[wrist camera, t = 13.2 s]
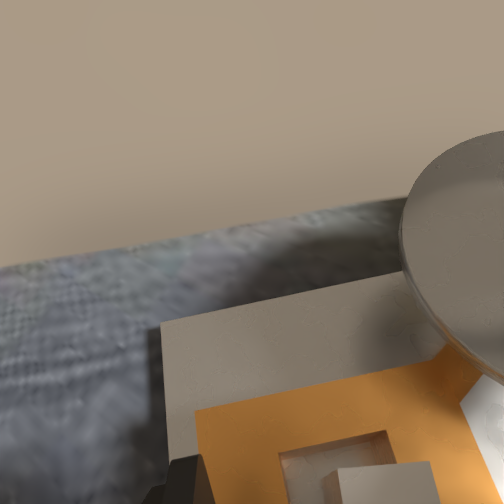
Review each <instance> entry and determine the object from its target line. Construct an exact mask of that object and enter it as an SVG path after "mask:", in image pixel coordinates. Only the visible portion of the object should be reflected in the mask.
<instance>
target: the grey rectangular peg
mask: <svg viewBox="0 0 504 504" xmlns="http://www.w3.org/2000/svg"><path fill="white" fill-rule="evenodd" d="M321 481H322V488H323V495H324V502H325V504H441V502H440V498H439V495H438V491H437V487H436V484H435V480H434V476H433V472H432V469H431V465H430V461H422V462H410V463H398V464H387V465H375V466H364V467H352V468H340V469H336V470H335V471H333V472H331V473H330V474H328V475H327V476H325V477H324V478H322V479H321Z"/></svg>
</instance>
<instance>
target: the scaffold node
mask: <svg viewBox="0 0 504 504" xmlns="http://www.w3.org/2000/svg"><path fill="white" fill-rule="evenodd" d="M398 251H399V258H400V263H401V268H402V271H400V272H395V273H391V274H386V275H381V276H377V277H372V278H367V279H362V280H358V281H353V282H348V283H344V284H339V285H334V286H330V287H325V288H320V289H316V290H311V291H306V292H302V293H297V294H292V295H287V296H283V297H278V298H273V299H269V300H264V301H259V302H255V303H250V304H245V305H241V306H236V307H231V308H227V309H222V310H217V311H212V312H208V313H203V314H198V315H194V316H189V317H184V318H180V319H175V320H170V321H166V322H161V323H160V326H161V342H162V357H163V373H164V388H165V404H166V419H167V435H168V450H169V465H170V462H171V460H173V459H178V458H182V457H187V456H192V455H196V454H201V455H202V457H203V460H204V463H205V467H206V470H207V474H208V478H209V481H210V485H211V489H212V492H213V496H214V499H215V503H216V504H325V502H324V495H323V488H322V481H321V479H322V478H324V477H325V476H327V475H328V474H330V473H331V472H333V471H335V470H336V469H340V468H352V467H364V466H375V465H387V464H398V463H410V462H422V461H430V465H431V469H432V472H433V476H434V480H435V484H436V487H437V491H438V495H439V498H440V502H441V504H504V131H500V132H494V133H490V134H486V135H482V136H478V137H475V138H472V139H470V140H467V141H465V142H462V143H460V144H458V145H456V146H454V147H452V148H451V149H449V150H447V151H445V152H444V153H443V154H441V155H440V156H438V157H437V158H436V159H435V160H433V161H432V162H431V164H429V165H428V166H427V167H426V168H425V169H424V171H423V172H422V173H421V174H420V176H419V177H418V178H417V180H416V181H415V183H414V185H413V187H412V189H411V191H410V193H409V195H408V198H407V201H406V204H405V206H404V209H403V213H402V216H401V219H400V224H399V232H398Z"/></svg>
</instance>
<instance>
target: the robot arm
mask: <svg viewBox="0 0 504 504" xmlns="http://www.w3.org/2000/svg"><path fill="white" fill-rule="evenodd" d="M142 504H216V503H215V499H214V496H213V492H212V489H211V485H210V481H209V478H208V474H207V470H206V467H205V463H204V460H203V457H202V455H201V454H196V455H192V456H187V457H182V458H178V459H173V460H171V462H170V466H169V471H168V476H167V481H166V484H164V485H160V486H155V487H152V488H151V490H150V491H149V493H148V495H147V496H146V498H145V499H144V501H143V502H142Z"/></svg>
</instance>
